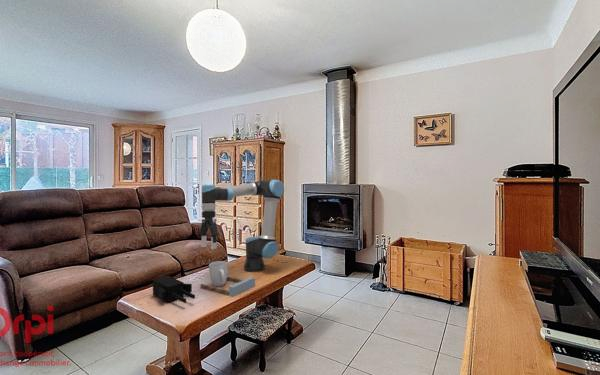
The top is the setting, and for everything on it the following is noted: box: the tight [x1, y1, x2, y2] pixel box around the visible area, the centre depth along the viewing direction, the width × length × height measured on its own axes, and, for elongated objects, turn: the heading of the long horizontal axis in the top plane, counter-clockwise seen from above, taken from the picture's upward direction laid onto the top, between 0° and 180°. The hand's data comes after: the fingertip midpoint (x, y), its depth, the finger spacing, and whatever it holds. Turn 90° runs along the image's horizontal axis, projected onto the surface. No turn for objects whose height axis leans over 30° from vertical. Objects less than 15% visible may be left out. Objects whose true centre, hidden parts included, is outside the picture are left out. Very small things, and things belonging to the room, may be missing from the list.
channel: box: [199, 275, 244, 296], centre depth 178 cm, size 23×19×2 cm
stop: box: [228, 276, 256, 297], centre depth 171 cm, size 3×18×5 cm, turn 148°
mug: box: [208, 260, 229, 287], centre depth 180 cm, size 15×11×13 cm
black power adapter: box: [152, 275, 196, 304], centre depth 159 cm, size 16×9×30 cm
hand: (208, 247), depth 170 cm, fingers open, 13 cm apart
